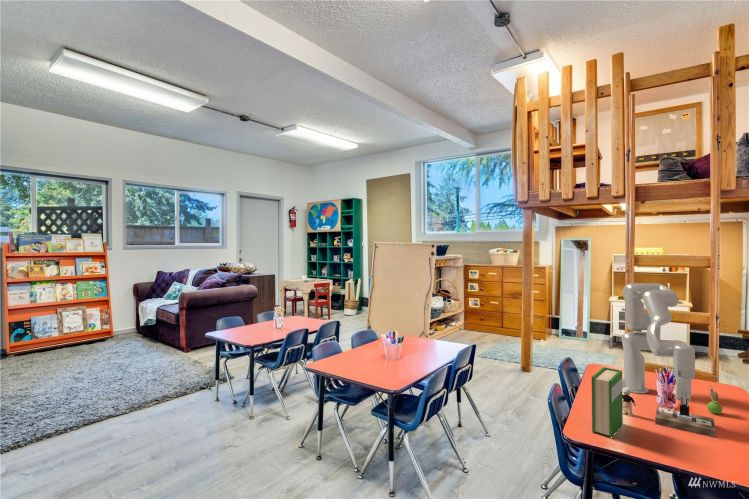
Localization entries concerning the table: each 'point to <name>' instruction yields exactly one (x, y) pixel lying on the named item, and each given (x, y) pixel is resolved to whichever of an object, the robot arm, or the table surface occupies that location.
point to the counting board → (687, 423)
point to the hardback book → (607, 401)
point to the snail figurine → (714, 403)
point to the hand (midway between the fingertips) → (684, 414)
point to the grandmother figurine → (627, 402)
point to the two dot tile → (666, 412)
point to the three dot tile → (684, 417)
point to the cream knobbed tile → (703, 422)
